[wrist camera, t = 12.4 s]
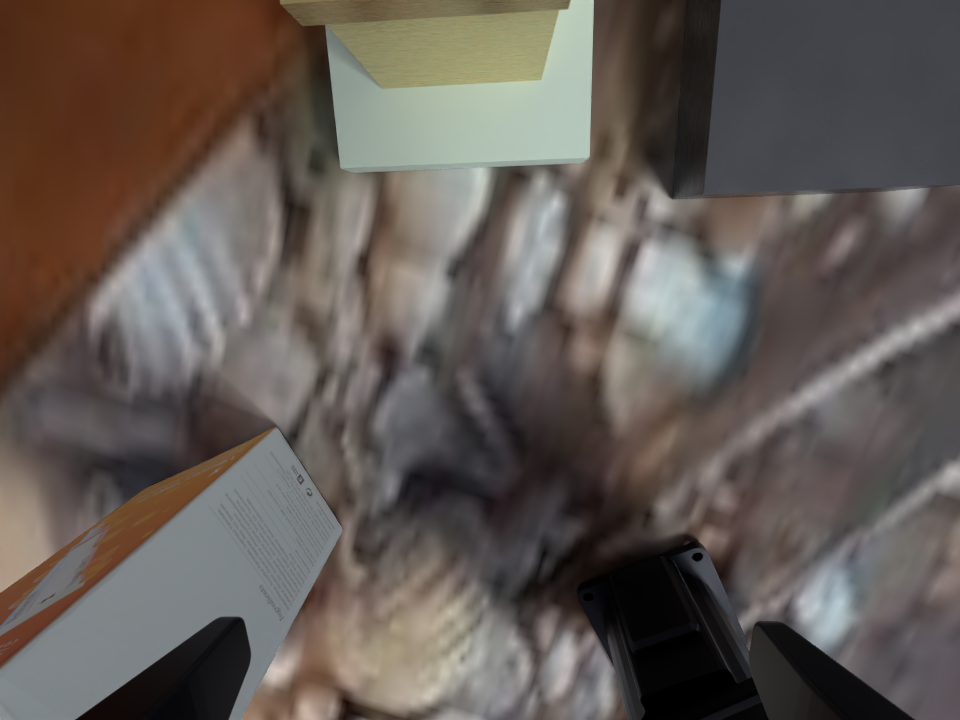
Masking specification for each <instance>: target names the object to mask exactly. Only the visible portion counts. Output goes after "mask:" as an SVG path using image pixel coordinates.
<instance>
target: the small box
mask: <svg viewBox="0 0 960 720" xmlns="http://www.w3.org/2000/svg"><path fill="white" fill-rule="evenodd" d="M341 533H342V527H341V525H340V524H339V522H338V521H337V519H336V517H335V516H334V514H333V513H332V511H331V509H330V508H329V506H328V505H327V503H326V501H325V500H324V499H323V497H322V496H321V494H320V492H319V491H318V489H317V488H316V486H315V485H314V483H313V482H312V480H311V478H310V477H309V475H308V474H307V472H306V471H305V469H304V468H303V466H302V464H301V463H300V461H299V460H298V458H297V457H296V455H295V454H294V452H293V451H292V449H291V448H290V446H289V445H288V443H287V441H286V440H285V438H284V437H283V435H282V434H281V432H280V430H279V429H278V428H277V427H273V428H271V429H269V430H267V431H266V432H264V433H262V434H260V435H258V436H256V437H254V438H252V439H250V440H248V441H246V442H244V443H242V444H240V445H238V446H236V447H234V448H232V449H230V450H228V451H226V452H223V453H221V454H219V455H217V456H215V457H213V458H211V459H209V460H207V461H205V462H202V463H200V464H198V465H196V466H194V467H192V468H189V469H187V470H185V471H183V472H181V473H178V474H176V475H174V476H172V477H170V478H167V479H165V480H163V481H161V482H158V483H156V484H154V485H152V486H149V487H147V488H145V489H144V490H142V491H141V492H139V493H138V494H137V495H135V496H134V497H133V498H131V499H130V500H129V501H127V502H126V503H125V504H123V505H122V506H120V507H119V508H118V509H116V510H115V511H113V512H112V513H111V514H109V515H108V516H106V517H105V518H104V519H102V520H101V521H100V522H98V523H97V524H96V525H94V526H93V527H91V528H90V529H89V530H87V531H86V532H84V533H83V534H82V535H80V536H79V537H78V538H76V539H75V540H74V541H72V542H71V543H69V544H68V545H67V546H65V547H64V548H63V549H61V550H60V551H58V552H57V553H55V554H54V555H53V556H51V557H50V558H49V559H47V560H46V561H45V562H43V563H42V564H40V565H39V566H38V567H36V568H35V569H33V570H32V571H31V572H29V573H28V574H26V575H25V576H24V577H22V578H21V579H19V580H18V581H17V582H15V583H14V584H12V585H11V586H10V587H8V588H7V589H6V590H4V591H3V592H1V593H0V720H75V719H77V718H78V717H79V716H81V715H82V714H84V713H85V712H86V711H88V710H89V709H91V708H92V707H93V706H95V705H96V704H97V703H99V702H100V701H102V700H103V699H104V698H106V697H107V696H109V695H110V694H111V693H113V692H114V691H116V690H117V689H118V688H120V687H121V686H123V685H124V684H125V683H127V682H128V681H130V680H131V679H132V678H134V677H135V676H137V675H138V674H139V673H141V672H142V671H144V670H145V669H146V668H148V667H149V666H150V665H152V664H153V663H155V662H156V661H157V660H159V659H160V658H162V657H163V656H164V655H166V654H167V653H169V652H170V651H171V650H173V649H174V648H176V647H177V646H178V645H180V644H181V643H183V642H184V641H185V640H187V639H188V638H190V637H191V636H192V635H194V634H195V633H197V632H198V631H199V630H201V629H202V628H203V627H205V626H206V625H208V624H209V623H210V622H212V621H213V620H215V619H216V618H218V617H222V616H238V617H242V618H243V620H244V621H245V625H246V629H247V634H248V639H249V643H250V648H251V661H250V666H249V669H248V671H247V674H246V676H245V679H244V682H243V684H242V687H241V689H240V692H239V694H238V697H237V700H236V702H235V705H234V707H233V710H232V713H231V715H230V718H229V720H241V718H242V716H243V714H244V712H245V710H246V709H247V707H248V705H249V703H250V701H251V699H252V697H253V696H254V694H255V692H256V690H257V688H258V686H259V684H260V683H261V681H262V679H263V677H264V675H265V673H266V671H267V670H268V668H269V666H270V664H271V662H272V660H273V659H274V657H275V655H276V653H277V651H278V649H279V647H280V646H281V644H282V642H283V640H284V638H285V636H286V634H287V632H288V630H289V629H290V627H291V625H292V623H293V621H294V619H295V617H296V616H297V614H298V612H299V610H300V608H301V606H302V604H303V603H304V601H305V599H306V597H307V595H308V593H309V591H310V590H311V588H312V586H313V584H314V582H315V580H316V579H317V577H318V575H319V573H320V571H321V570H322V568H323V566H324V564H325V562H326V560H327V559H328V557H329V555H330V553H331V551H332V549H333V547H334V546H335V544H336V542H337V540H338V538H339V537H340V535H341Z"/></svg>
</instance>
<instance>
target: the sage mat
mask: <svg viewBox="0 0 960 720" xmlns="http://www.w3.org/2000/svg"><path fill="white" fill-rule="evenodd" d="M593 9H594V0H571V1H570V4H569V8H568V9H566V10H559V13H558V17H557V21H556V25H555V29H554V33H553V37H552V41H551V44H550V48H549V52H548V56H547V60H546V64H545V68H544V72H543V76H542V80H536V81H518V82H500V83H481V84H463V85H445V86H427V87H408V88H390V89H382V87H381V86H380V85H379V84H378V83H377V82H376V81H375V79H374V78H373V77H372V76H371V75H370V74H369V73H368V71H367V70H366V69H365V68H364V67H363V66H362V65H361V63H360V62H359V61H358V60H357V59H356V58H355V57H354V55H353V54H352V53H351V52H350V51H349V50H348V49H347V47H346V46H345V45H344V44H343V43H342V42H341V41H340V40H339V38H338V37H337V36H336V35H335V34H334V33H333V32H332V30H331V29H330V28H329V27H328V26H327V25H325V29H326V38H327V47H328V57H329V66H330V75H331V85H332V94H333V104H334V113H335V122H336V132H337V141H338V150H339V160H340V168H341V169H344V170H347V171H350V172H352V173H359V172H383V171H406V170H430V169H453V168H477V167H500V166H524V165H547V164H571V163H583V162H584V161H586V160H587V159H588V158H589V155H590V119H591V82H592V45H593Z"/></svg>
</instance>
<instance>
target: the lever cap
mask: <svg viewBox="0 0 960 720" xmlns="http://www.w3.org/2000/svg"><path fill="white" fill-rule="evenodd" d="M570 1H571V0H280V4H281V5H282V6H283V7H284V8H285V9H286V10H287V11H288V12H289V13H290V14H291V15H292V16H293V17H294V18H295V19H296V20H297V21H298V22H299V23H300V24H301V25H302V26H312V25H327V26H328V27H329V28H330V29H331V30H332V32H333V33H334V34H335V35H336V36H337V37H338V38H339V40H340V41H341V42H342V43H343V44H344V45H345V46H346V47H347V49H348V50H349V51H350V52H351V53H352V54H353V55H354V57H355V58H356V59H357V60H358V61H359V62H360V63H361V65H362V66H363V67H364V68H365V69H366V70H367V71H368V73H369V74H370V75H371V76H372V77H373V78H374V79H375V81H376V82H377V83H378V84H379V85H380V86H381V87H382V89H390V88H408V87H427V86H445V85H463V84H481V83H500V82H518V81H536V80H542V76H543V72H544V68H545V64H546V60H547V56H548V52H549V48H550V44H551V41H552V37H553V33H554V29H555V25H556V21H557V17H558V13H559V10H566V9H568V8H569V4H570Z"/></svg>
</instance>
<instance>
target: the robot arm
mask: <svg viewBox="0 0 960 720" xmlns="http://www.w3.org/2000/svg"><path fill="white" fill-rule="evenodd" d="M697 552H699V554H698V555H696V556H693V554H694V553H697ZM585 593H591V594H590V595H584V594H585ZM577 595H578V599H579V602H580V604H581V606H582V607H583V609H584V611H585V613H586V615H587V617H588V618H589V620H590V622H591V624H592V626H593V628H594V630H595V631H596V633H597V635H598V637H599V639H600V641H601V642H602V644H603V646H604V648H605V650H606V652H607V654H608V655H609V657H610V659H611V661H612V663H613V665H614V668H615V672H616V676H617V680H618V684H619V688H620V692H621V696H622V700H623V703H624V707H625V711H626V715H627V719H628V720H915V719H914V718H912V717H911V716H909V715H908V714H907V713H905V712H904V711H903V710H901V709H900V708H899V707H897V706H896V705H895V704H893V703H892V702H890V701H889V700H888V699H886V698H885V697H884V696H882V695H881V694H880V693H878V692H877V691H876V690H874V689H873V688H871V687H870V686H869V685H867V684H866V683H865V682H863V681H862V680H861V679H859V678H858V677H857V676H855V675H854V674H852V673H851V672H850V671H848V670H847V669H846V668H844V667H843V666H842V665H840V664H839V663H838V662H836V661H835V660H833V659H832V658H831V657H829V656H828V655H827V654H825V653H824V652H823V651H821V650H820V649H819V648H817V647H816V646H814V645H813V644H812V643H810V642H809V641H808V640H806V639H805V638H804V637H802V636H801V635H800V634H798V633H797V632H795V631H794V630H793V629H791V628H790V627H789V626H787V625H786V624H784V623H782V622H778V621H759V622H757V623H756V624H755V625H754V628H753V634H752V640H751V647H750V652H749V650H748V649H747V647H746V644H747V639H746V637H745V635H744V633H743V631H742V628H741V626H740V624H739V622H738V619H737V617H736V615H735V613H734V610H733V608H732V606H731V604H730V601H729V599H728V597H727V595H726V592H725V590H724V588H723V586H722V583H721V581H720V579H719V577H718V574H717V572H716V570H715V568H714V566H713V563H712V561H711V559H710V557H709V554H708V552H707V551H706V549H705V548H704V546H703V545H702V544H700V543H696V542H694V543H690V544H687V545H684V546H681V547H679V548H676V549H673V550H671V551H668V552H665V553H663V554H660V555H657V556H655V557H652V558H649V559H647V560H644V561H641V562H638V563H636V564H633V565H630V566H628V567H625V568H622V569H620V570H617V571H614V572H612V573H609V574H606V575H604V576H601V577H598V578H596V579H593V580H590V581H587V582H585V583H582V584H581V585H579V586H578V588H577ZM250 661H251V648H250V643H249V639H248V634H247V629H246V625H245V621H244V620H243V618H242V617H238V616H222V617H218V618H216V619H215V620H213V621H212V622H210V623H209V624H208V625H206V626H205V627H203V628H202V629H201V630H199V631H198V632H197V633H195V634H194V635H192V636H191V637H190V638H188V639H187V640H185V641H184V642H183V643H181V644H180V645H178V646H177V647H176V648H174V649H173V650H171V651H170V652H169V653H167V654H166V655H164V656H163V657H162V658H160V659H159V660H157V661H156V662H155V663H153V664H152V665H150V666H149V667H148V668H146V669H145V670H144V671H142V672H141V673H139V674H138V675H137V676H135V677H134V678H132V679H131V680H130V681H128V682H127V683H125V684H124V685H123V686H121V687H120V688H118V689H117V690H116V691H114V692H113V693H111V694H110V695H109V696H107V697H106V698H104V699H103V700H102V701H100V702H99V703H97V704H96V705H95V706H93V707H92V708H91V709H89V710H88V711H86V712H85V713H84V714H82V715H81V716H79V717H78V718H77V719H75V720H229V718H230V715H231V713H232V710H233V707H234V705H235V702H236V700H237V697H238V694H239V692H240V689H241V687H242V684H243V682H244V679H245V676H246V674H247V671H248V669H249V666H250Z"/></svg>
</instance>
